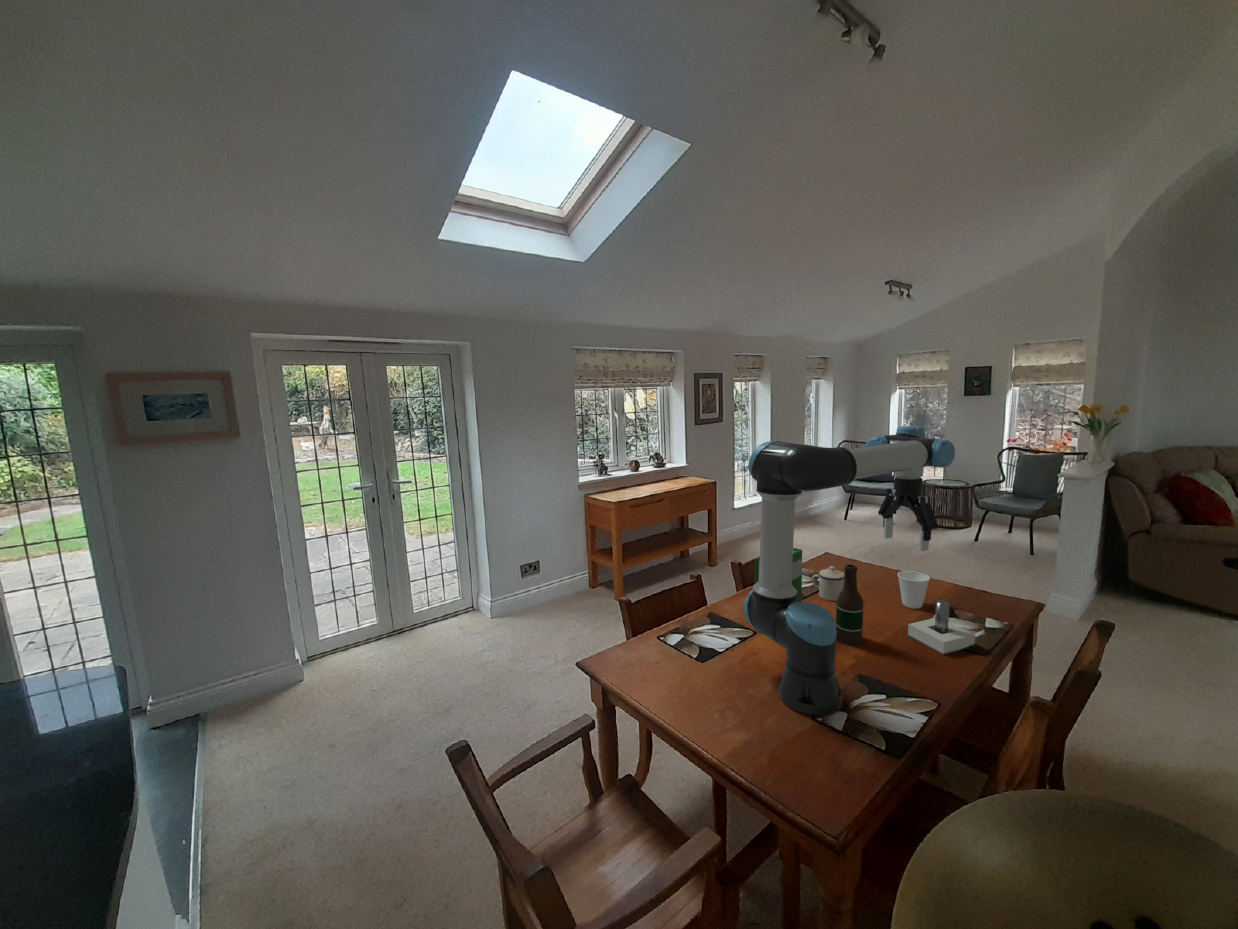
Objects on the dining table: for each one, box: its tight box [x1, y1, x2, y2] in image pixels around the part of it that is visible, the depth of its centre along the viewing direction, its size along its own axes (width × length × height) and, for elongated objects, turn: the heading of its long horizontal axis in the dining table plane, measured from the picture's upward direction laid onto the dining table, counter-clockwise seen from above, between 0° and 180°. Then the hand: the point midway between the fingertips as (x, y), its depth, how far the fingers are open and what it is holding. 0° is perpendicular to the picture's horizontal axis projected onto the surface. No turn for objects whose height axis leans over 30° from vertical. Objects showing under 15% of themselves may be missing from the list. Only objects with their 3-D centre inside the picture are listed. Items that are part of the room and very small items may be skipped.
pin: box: [934, 599, 950, 634], centre depth 149 cm, size 3×3×12 cm
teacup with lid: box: [811, 565, 845, 602], centre depth 185 cm, size 12×9×12 cm
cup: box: [897, 570, 931, 610], centre depth 173 cm, size 10×10×11 cm
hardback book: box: [754, 547, 803, 602], centre depth 165 cm, size 18×7×24 cm, turn 133°
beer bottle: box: [835, 563, 864, 646], centre depth 152 cm, size 8×8×24 cm
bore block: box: [907, 617, 976, 656], centre depth 149 cm, size 12×12×4 cm
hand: (905, 544), depth 153 cm, fingers open, 13 cm apart
